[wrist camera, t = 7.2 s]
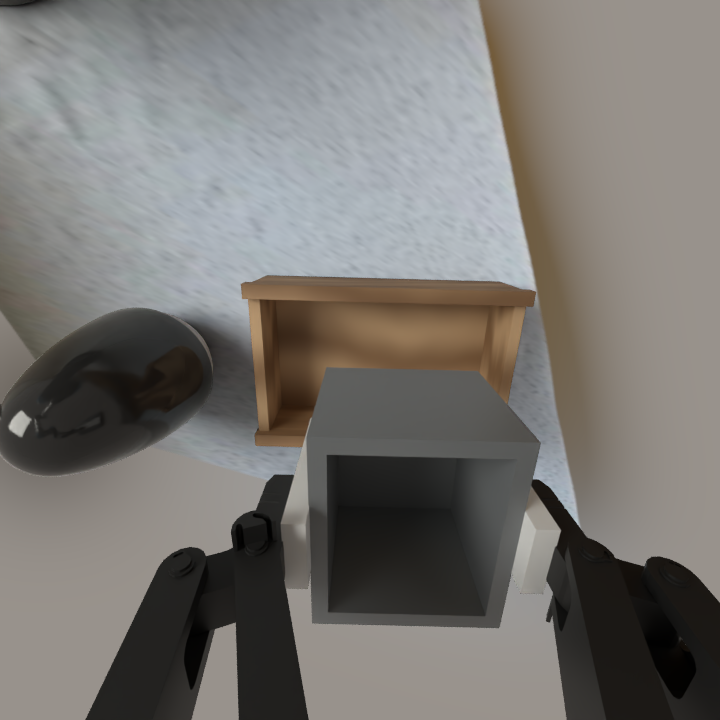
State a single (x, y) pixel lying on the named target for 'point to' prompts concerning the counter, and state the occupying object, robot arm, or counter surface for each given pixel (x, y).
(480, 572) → the box
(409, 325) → the large crate
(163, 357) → the pump dispenser
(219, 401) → the counter surface
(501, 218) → the counter surface
